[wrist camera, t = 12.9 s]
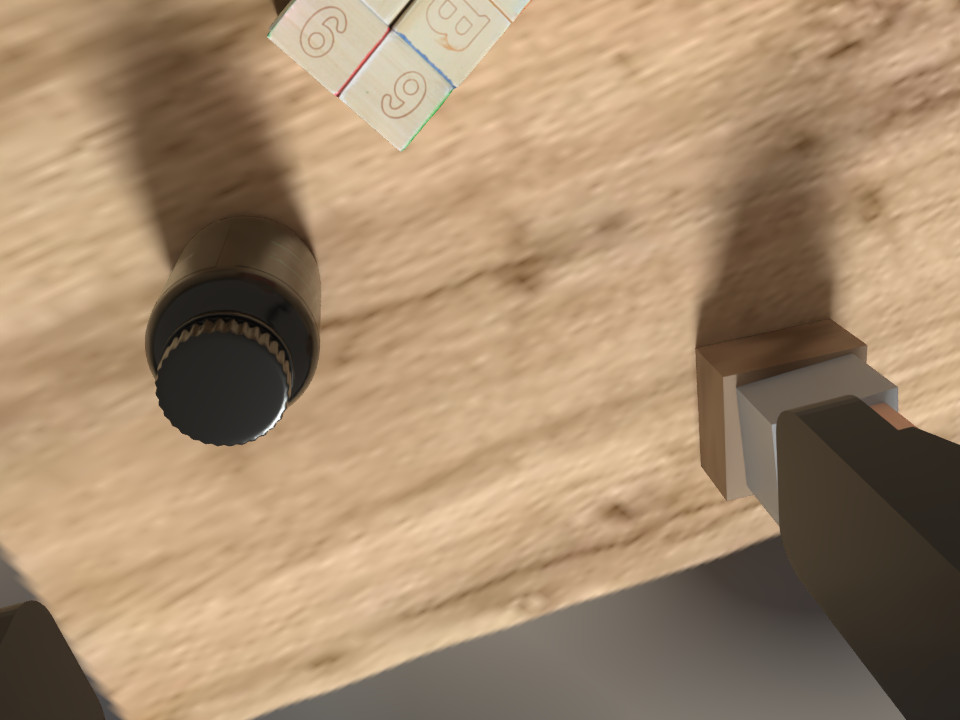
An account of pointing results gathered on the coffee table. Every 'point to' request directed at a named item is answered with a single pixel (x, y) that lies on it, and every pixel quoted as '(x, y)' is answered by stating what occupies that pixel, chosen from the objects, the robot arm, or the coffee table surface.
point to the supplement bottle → (235, 330)
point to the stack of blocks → (392, 52)
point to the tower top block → (792, 391)
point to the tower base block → (745, 365)
